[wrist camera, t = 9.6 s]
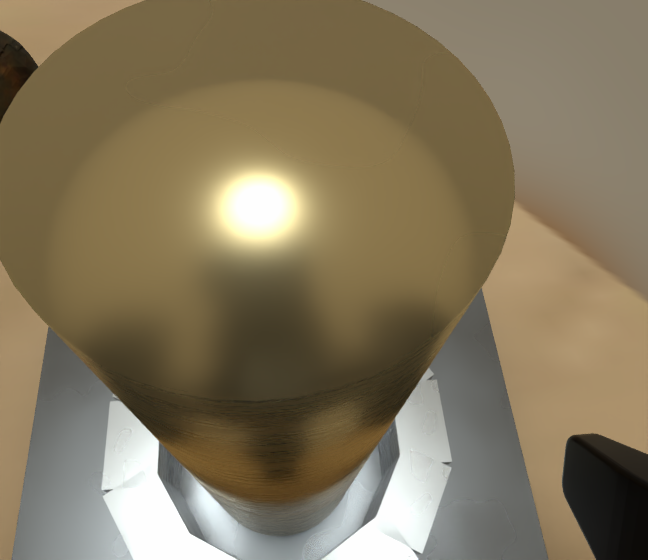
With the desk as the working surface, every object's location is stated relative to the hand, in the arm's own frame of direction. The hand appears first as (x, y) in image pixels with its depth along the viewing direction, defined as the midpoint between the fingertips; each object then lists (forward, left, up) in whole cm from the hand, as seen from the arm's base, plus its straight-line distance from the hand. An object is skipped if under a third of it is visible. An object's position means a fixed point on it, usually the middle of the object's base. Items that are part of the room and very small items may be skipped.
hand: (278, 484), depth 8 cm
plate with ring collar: (+2, -1, -9) cm, 9 cm away
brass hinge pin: (+2, -1, -8) cm, 8 cm away
